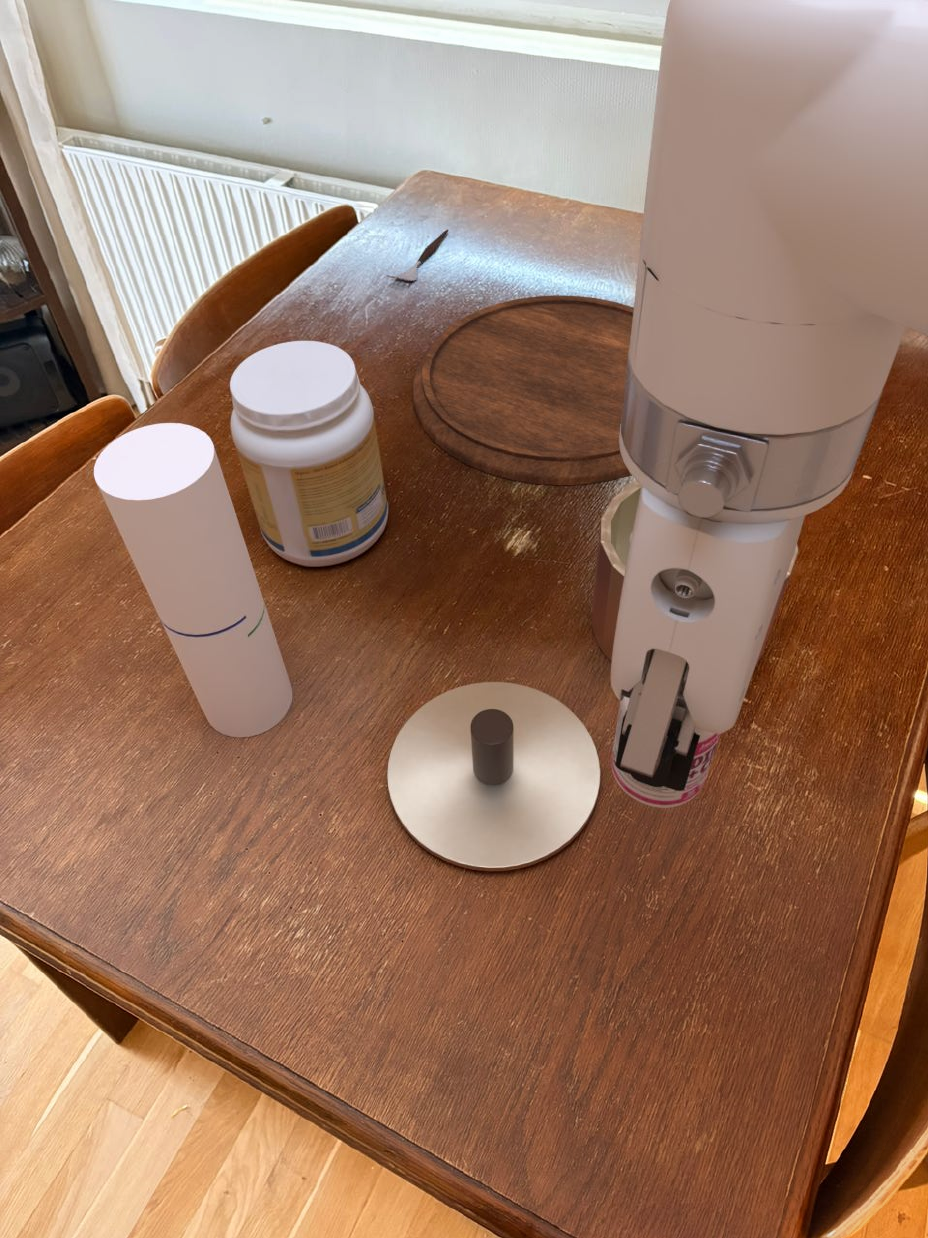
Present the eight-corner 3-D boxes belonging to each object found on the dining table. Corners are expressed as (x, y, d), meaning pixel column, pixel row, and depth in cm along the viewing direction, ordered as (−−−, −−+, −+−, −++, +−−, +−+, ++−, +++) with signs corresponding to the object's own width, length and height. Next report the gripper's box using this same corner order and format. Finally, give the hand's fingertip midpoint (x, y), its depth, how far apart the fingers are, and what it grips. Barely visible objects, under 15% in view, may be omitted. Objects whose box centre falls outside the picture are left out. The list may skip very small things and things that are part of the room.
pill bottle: (698, 822, 43) (729, 724, 37) (600, 795, 44) (614, 696, 38) (713, 741, 46) (745, 637, 39) (622, 718, 47) (638, 613, 41)
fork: (457, 234, 122) (456, 220, 120) (404, 293, 113) (403, 278, 111) (439, 231, 123) (438, 217, 121) (386, 289, 113) (384, 274, 112)
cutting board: (637, 524, 84) (640, 504, 82) (356, 428, 95) (353, 408, 93) (748, 350, 101) (752, 330, 100) (499, 286, 113) (499, 267, 111)
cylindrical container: (187, 699, 73) (72, 460, 54) (260, 651, 76) (175, 408, 57) (236, 753, 69) (130, 518, 50) (310, 700, 72) (237, 459, 53)
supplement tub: (403, 490, 88) (385, 339, 76) (370, 580, 81) (343, 428, 68) (287, 477, 90) (249, 328, 78) (243, 564, 83) (194, 413, 70)
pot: (785, 590, 78) (816, 500, 70) (740, 719, 70) (769, 633, 62) (625, 542, 83) (637, 452, 75) (565, 657, 74) (571, 570, 66)
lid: (629, 732, 69) (638, 680, 64) (550, 912, 60) (553, 869, 55) (447, 665, 74) (442, 612, 69) (349, 822, 65) (335, 775, 60)
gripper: (809, 636, 22) (697, 921, 36) (904, 298, 32) (787, 624, 46) (530, 554, 25) (525, 851, 39) (698, 262, 34) (646, 583, 48)
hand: (669, 725), depth 42 cm, fingers closed on pill bottle, 4 cm apart
